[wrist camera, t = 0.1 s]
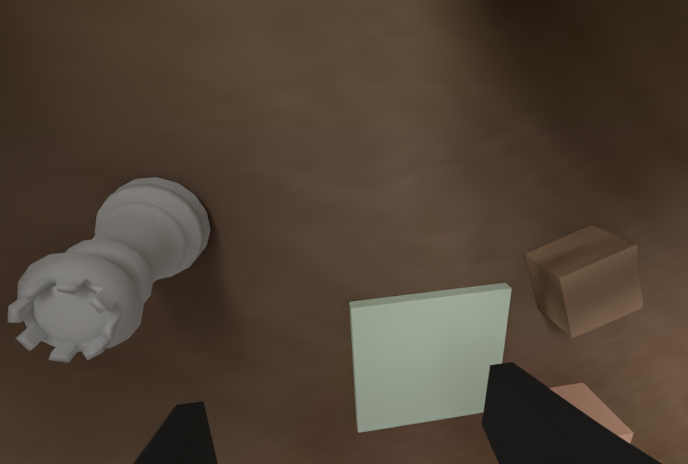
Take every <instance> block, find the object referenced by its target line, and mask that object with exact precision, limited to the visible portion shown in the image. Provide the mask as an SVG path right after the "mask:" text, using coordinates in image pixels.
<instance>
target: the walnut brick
mask: <svg viewBox="0 0 688 464" xmlns="http://www.w3.org/2000/svg"><path fill="white" fill-rule="evenodd" d="M525 257H526V261H527V265H528V269H529V273H530V277H531V281H532V286H533V290H534V294H535V298H536V302H537V306H538V309H539V310H540V311H541V312H542V313H544V314H545V315H546V316H547V317H548V318H549V319H550V320H552V321H553V322H554V323H555V324H556V325H557V326H558V327H560V328H561V329H562V330H563V331H564V332H565V333H566V334H567V335H569V336H570V337H571V338H572V339H573V338H575V337H577V336H579V335H582V334H584V333H586V332H589V331H591V330H593V329H596V328H598V327H600V326H603V325H605V324H607V323H609V322H612V321H614V320H616V319H619V318H621V317H623V316H626V315H628V314H630V313H633V312H635V311H637V310H639V309H642V308H643V299H642V289H641V280H640V270H639V260H638V251H637V244H635V243H633V242H631V241H628V240H626V239H624V238H622V237H619V236H617V235H615V234H612V233H610V232H608V231H606V230H603V229H601V228H599V227H597V226H594V225H589V226H587V227H585V228H583V229H580V230H578V231H576V232H574V233H571V234H569V235H567V236H564V237H562V238H560V239H558V240H555V241H553V242H551V243H549V244H546V245H544V246H542V247H539V248H537V249H535V250H533V251H530V252H528V253H526V254H525Z"/></svg>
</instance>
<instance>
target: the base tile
mask: <svg viewBox="0 0 688 464" xmlns="http://www.w3.org/2000/svg"><path fill="white" fill-rule="evenodd" d="M511 290H512V288H511V287H510V286H509V285H507V284H506V283H499V284H491V285H483V286H475V287H467V288H458V289H450V290H442V291H434V292H426V293H417V294H409V295H401V296H393V297H384V298H376V299H368V300H360V301H352V302H349V308H350V324H351V341H352V358H353V375H354V392H355V408H356V424H357V429H358V433H360V432H366V431H372V430H379V429H385V428H391V427H397V426H403V425H409V424H416V423H422V422H428V421H434V420H440V419H446V418H453V417H459V416H465V415H471V414H477V413H483V412H484V404H485V397H486V390H487V383H488V376H489V369H490V365H495V364H502V360H503V352H504V345H505V337H506V329H507V321H508V313H509V305H510V297H511Z"/></svg>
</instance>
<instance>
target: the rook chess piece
mask: <svg viewBox="0 0 688 464" xmlns="http://www.w3.org/2000/svg"><path fill="white" fill-rule="evenodd" d="M209 233H210V225H209V220H208V216H207V211H206V210H205V209H204V207H203V206H202V204H201V203H200V201H199V200H198V198H197V197H196V196H195V195H194V194H193V193H191V192H190V191H189V190H187V189H186V188H184V187H183V186H181V185H180V184H178V183H176V182H173V181H169V180H165V179H162V178H158V177H152V178H141V179H134V180H132V181H131V182H129V183H127V184H125V185H123V186H121V187H119V188H118V189H117V190H116V192H114V193H113V194H111V195H109V197H108V198H107V200H106V201H105V202H104V204H103V205H102V207H101V208H100V210H99V211H98V213H97V218H96V226H95V236H94V237H93V239H92V240H84V241H82V242H80V243H78V244H76V245H74V246H72V247H70V248H69V249H68V250H67V251H66V253H58V254H49V255H48V256H46V257H44V258H42V259H40V260H38V261H36V262H34V263H33V264H31V265H29V267H28V268H27V270H26V271H25V273H24V274H23V275H22V277H21V278H20V280H19V281H18V292H17V300H16V301H15V302H13V303H12V304H11V305H9V306H8V322H9V323H21V322H22V321H23V320H24V322H25V325H26V327H27V328H26V329H25V330H24V331H23V332H22V333H20V334H19V335H18V336H17V337H16V338H15V339H17V340H18V341H19V342H20V343H21V344H22V345H23V346H24V347H25V348H27V349H28V350H29V351H31V350H32V349H33V348H34V347H35V346H37V345H38V344H39V343H40V342H41V341H43V342H45V343H47V344H49V345H51V346H53V347H56V348H55V349H54V350H53V351H52V352H51V354H50V357H49V360H53V361H59V362H66V363H69V362H70V361H71V360H72V358H73V357H74V356H75V355H76V353H77V352H82V351H83V352H82V353H83V354H84V356H85V357H86V359H87V360H89V359H91V358H93V357H95V356H97V355H99V354H101V353H103V352H104V351H105V349H107V348H112V347H114V346H116V345H118V344H120V343H122V342H123V341H125V340H127V339H129V338H130V337H131V336H132V334H133V333H134V332H135V331H136V329H137V328H138V327H139V326H140V324H141V319H142V314H143V308H144V305H143V304H144V303H145V302H146V301H147V299H148V298H149V297H150V296H151V291H152V286H153V283H154V282H155V281H156V280H157V279H162V278H168V277H171V276H173V275H175V274H177V273H179V272H181V271H183V270H185V269H187V268H189V267H190V266H191V265H192V264H193V262H194V261H195V260H196V259H197V257H198V256H199V255H200V254H201V252H202V251H203V250H204V249H205V247H206V246H207V242H208V238H209Z"/></svg>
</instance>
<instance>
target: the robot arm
mask: <svg viewBox="0 0 688 464" xmlns="http://www.w3.org/2000/svg"><path fill="white" fill-rule="evenodd" d="M482 425H483V428H484V430H485V433H486V435H487V437H488V440H489V442H490V444H491V447H492V449H493V451H494V453H495V456H496V458H497V460H498V462H499V464H661V463H660V462H658V461H657V460H655V459H653V458H652V457H650V456H649V455H647V454H645V453H644V452H642V451H641V450H639V449H638V448H636V447H634V446H633V445H631V444H630V443H628V442H627V441H625V440H624V439H622V438H621V437H619V436H618V435H616V434H615V433H613V432H612V431H610V430H609V429H607V428H606V427H604V426H603V425H601V424H600V423H598V422H597V421H595V420H594V419H592V418H591V417H589V416H588V415H587V414H585V413H584V412H582V411H581V410H579V409H578V408H576V407H575V406H574V405H572V404H571V403H569V402H568V401H567V400H565V399H564V398H562V397H561V396H559V395H558V394H557V393H555V392H554V391H552V390H551V389H550V388H548V387H547V386H545V385H544V384H543V383H541V382H540V381H538V380H537V379H536V378H534V377H533V376H531V375H530V374H528V373H527V372H526V371H524V370H523V369H521V368H520V367H518V366H517V365H515V364H514V363H512V362H511V363H503V364H495V365H490V369H489V376H488V383H487V390H486V397H485V404H484V412H483V419H482ZM134 464H217V459H216V455H215V450H214V446H213V441H212V437H211V433H210V428H209V424H208V419H207V415H206V411H205V406H204V402H196V403H188V404H180V405H176V406H175V408H174V409H173V410H172V411H171V413H170V414H169V415H168V417H167V418H166V419H165V421H164V422H163V424H162V425H161V426H160V428H159V429H158V431H157V432H156V433H155V435H154V436H153V438H152V439H151V440H150V442H149V443H148V445H147V446H146V447H145V449H144V450H143V451H142V453H141V454H140V455H139V457H138V458H137V459H136V461H135V462H134Z"/></svg>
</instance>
